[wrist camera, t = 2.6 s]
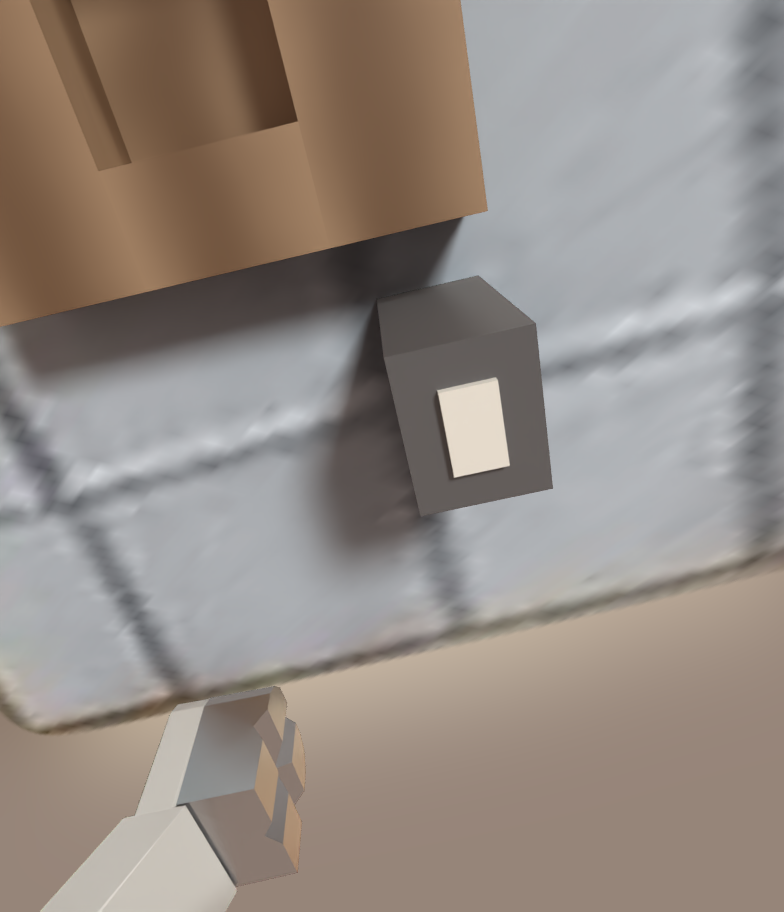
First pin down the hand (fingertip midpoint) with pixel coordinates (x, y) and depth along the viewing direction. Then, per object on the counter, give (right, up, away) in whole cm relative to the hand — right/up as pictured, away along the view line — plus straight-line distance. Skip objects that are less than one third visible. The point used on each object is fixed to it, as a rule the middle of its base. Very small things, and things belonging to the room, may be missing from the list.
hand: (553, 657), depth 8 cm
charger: (-1, +7, +14) cm, 16 cm away
